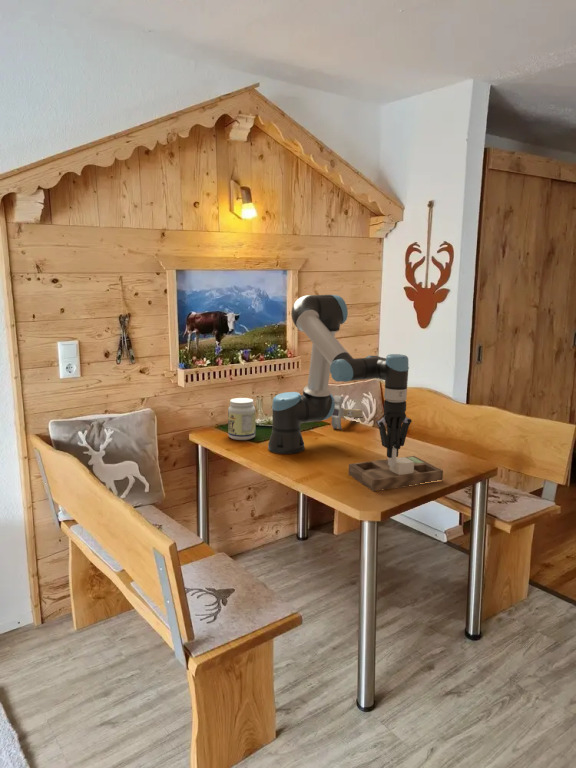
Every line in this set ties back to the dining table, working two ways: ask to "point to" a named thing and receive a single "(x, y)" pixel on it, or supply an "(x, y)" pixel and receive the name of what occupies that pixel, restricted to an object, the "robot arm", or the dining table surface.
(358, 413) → the hammer
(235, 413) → the supplement tub
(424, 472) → the board
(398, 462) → the block
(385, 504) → the dining table surface
